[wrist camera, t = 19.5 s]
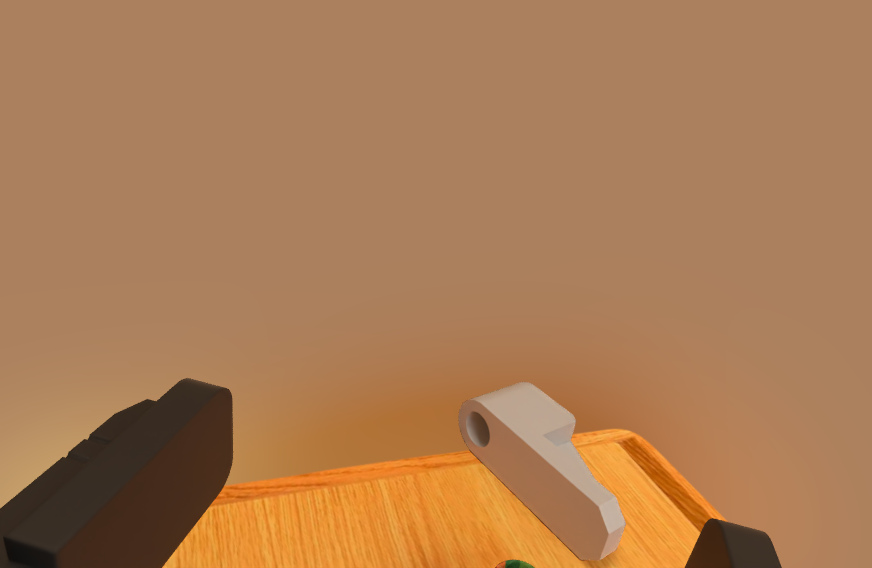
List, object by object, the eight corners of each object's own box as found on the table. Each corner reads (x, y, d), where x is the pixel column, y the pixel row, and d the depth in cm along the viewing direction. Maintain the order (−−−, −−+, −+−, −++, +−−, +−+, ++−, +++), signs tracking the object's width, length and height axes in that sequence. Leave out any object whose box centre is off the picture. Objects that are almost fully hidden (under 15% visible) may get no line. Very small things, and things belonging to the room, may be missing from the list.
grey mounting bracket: (613, 519, 43) (675, 482, 47) (463, 388, 55) (524, 369, 60) (594, 573, 45) (655, 533, 49) (454, 435, 58) (513, 413, 62)
